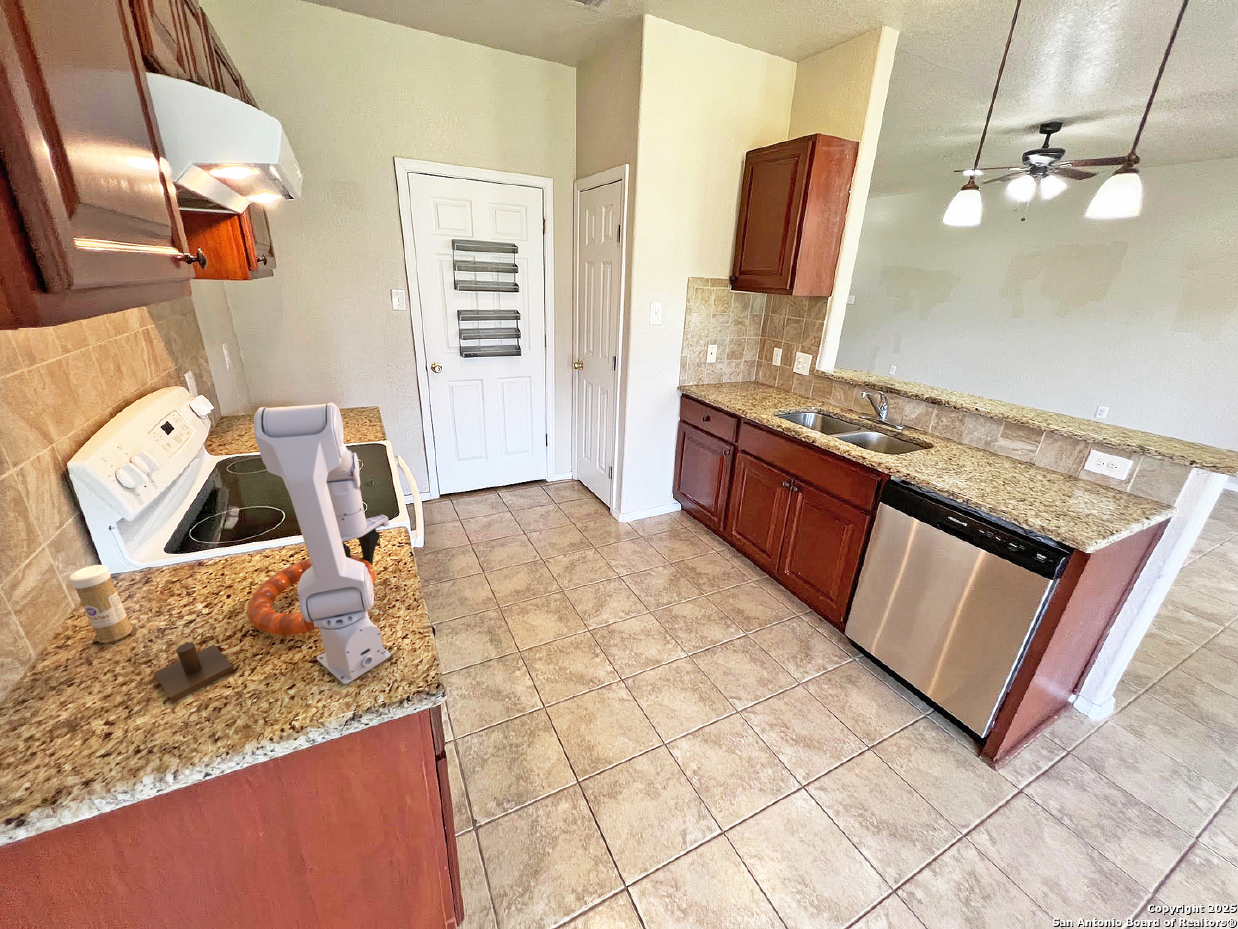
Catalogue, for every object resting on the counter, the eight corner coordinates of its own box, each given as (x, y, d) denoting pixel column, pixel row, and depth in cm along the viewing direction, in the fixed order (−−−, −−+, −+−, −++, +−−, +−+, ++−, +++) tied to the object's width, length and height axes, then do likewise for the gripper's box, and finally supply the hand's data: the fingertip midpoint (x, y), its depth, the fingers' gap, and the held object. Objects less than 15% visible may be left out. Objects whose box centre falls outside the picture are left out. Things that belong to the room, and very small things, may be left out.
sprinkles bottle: (91, 646, 84) (60, 581, 79) (108, 629, 88) (79, 565, 83) (124, 641, 86) (96, 576, 81) (139, 624, 90) (113, 562, 85)
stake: (234, 671, 80) (225, 643, 78) (172, 703, 74) (160, 674, 72) (215, 649, 84) (206, 623, 82) (155, 678, 78) (143, 650, 76)
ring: (398, 587, 97) (393, 573, 96) (283, 658, 82) (276, 642, 80) (342, 552, 108) (338, 539, 107) (232, 608, 93) (225, 593, 91)
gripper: (371, 491, 103) (381, 547, 108) (297, 517, 92) (312, 577, 97) (390, 500, 100) (399, 557, 105) (315, 528, 88) (330, 590, 94)
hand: (359, 568), depth 101 cm, fingers closed on ring, 3 cm apart
